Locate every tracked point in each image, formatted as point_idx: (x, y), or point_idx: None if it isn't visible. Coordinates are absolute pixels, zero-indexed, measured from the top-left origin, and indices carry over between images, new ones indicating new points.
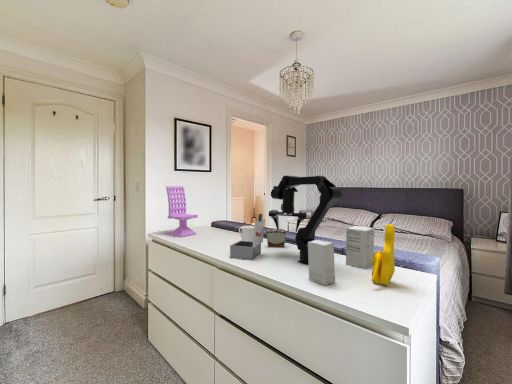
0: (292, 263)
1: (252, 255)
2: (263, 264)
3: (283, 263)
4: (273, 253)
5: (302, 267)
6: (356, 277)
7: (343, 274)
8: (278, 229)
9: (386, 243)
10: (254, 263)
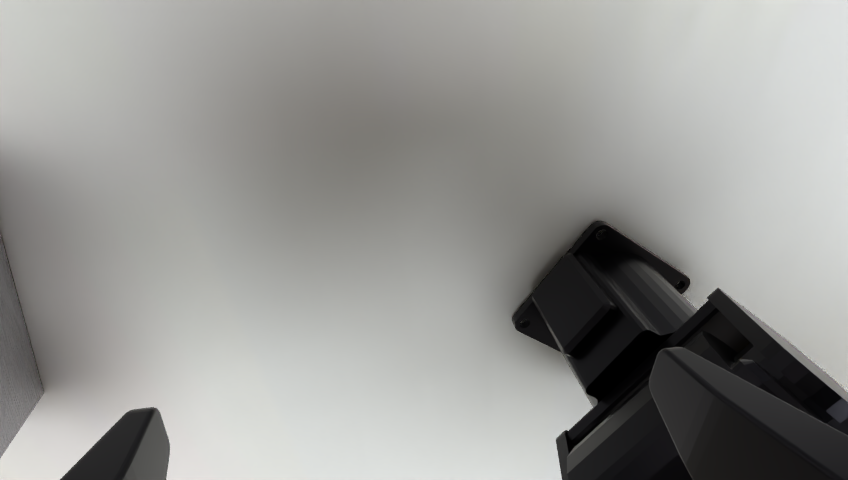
0: (461, 361)
1: (16, 433)
2: (215, 453)
3: (381, 384)
4: (151, 60)
5: (541, 416)
6: None
7: None
8: (160, 466)
9: None
10: None
